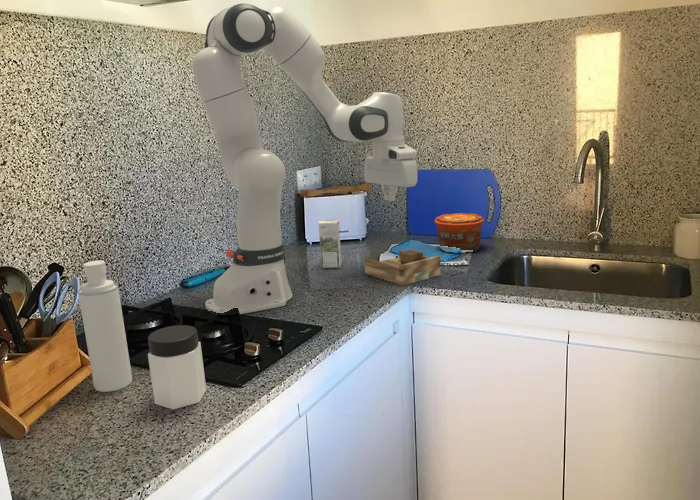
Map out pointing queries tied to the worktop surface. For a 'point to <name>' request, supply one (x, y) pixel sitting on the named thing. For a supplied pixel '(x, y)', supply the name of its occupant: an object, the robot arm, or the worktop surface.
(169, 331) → the jar
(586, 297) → the worktop surface
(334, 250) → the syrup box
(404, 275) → the tray
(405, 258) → the block
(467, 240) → the food container
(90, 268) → the white bottle
